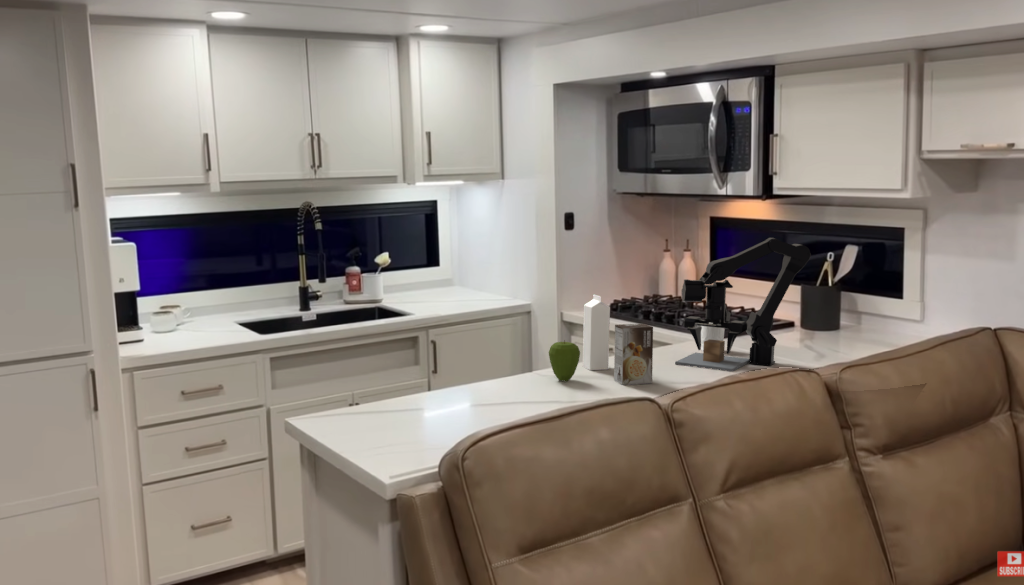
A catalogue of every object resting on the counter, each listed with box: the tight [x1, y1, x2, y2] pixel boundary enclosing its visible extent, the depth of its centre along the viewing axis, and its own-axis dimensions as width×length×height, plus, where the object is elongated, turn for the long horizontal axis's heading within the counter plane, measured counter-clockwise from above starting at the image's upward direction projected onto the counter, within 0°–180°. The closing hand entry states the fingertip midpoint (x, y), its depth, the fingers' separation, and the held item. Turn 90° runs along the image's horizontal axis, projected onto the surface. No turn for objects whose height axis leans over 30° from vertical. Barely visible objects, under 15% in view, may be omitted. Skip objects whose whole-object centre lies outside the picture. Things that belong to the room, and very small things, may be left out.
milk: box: [582, 294, 611, 371], centre depth 261 cm, size 6×6×22 cm
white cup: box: [700, 322, 726, 352], centre depth 291 cm, size 8×8×10 cm
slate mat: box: [675, 352, 750, 372], centre depth 272 cm, size 18×18×1 cm
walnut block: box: [702, 339, 726, 363], centre depth 272 cm, size 5×5×6 cm
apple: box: [548, 339, 581, 382], centre depth 245 cm, size 9×8×12 cm
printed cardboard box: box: [613, 323, 654, 386], centre depth 244 cm, size 9×6×16 cm
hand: (713, 351), depth 272 cm, fingers open, 9 cm apart
